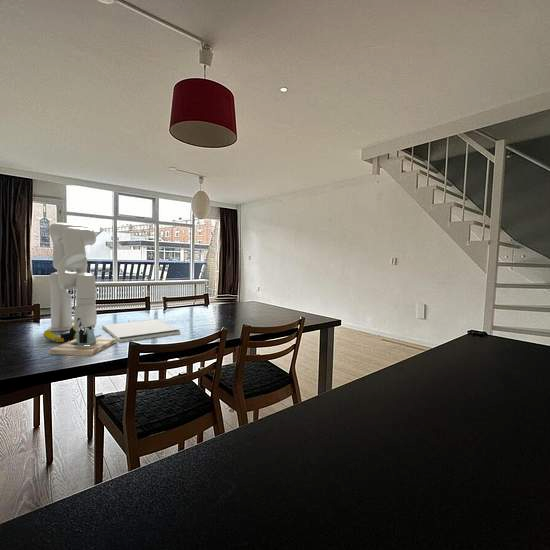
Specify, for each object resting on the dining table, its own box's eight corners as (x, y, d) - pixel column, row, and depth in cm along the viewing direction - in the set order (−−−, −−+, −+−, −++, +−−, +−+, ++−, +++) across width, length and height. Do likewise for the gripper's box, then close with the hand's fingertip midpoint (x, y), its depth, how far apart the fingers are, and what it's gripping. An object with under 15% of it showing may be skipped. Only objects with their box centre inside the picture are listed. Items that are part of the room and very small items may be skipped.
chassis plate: (80, 340, 155) (80, 336, 155) (116, 342, 154) (116, 338, 154) (50, 353, 135) (49, 349, 135) (91, 355, 134) (91, 351, 134)
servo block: (78, 346, 146) (73, 331, 146) (102, 339, 146) (98, 325, 146) (72, 348, 142) (67, 333, 142) (97, 342, 142) (92, 327, 142)
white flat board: (180, 330, 175) (119, 338, 155) (180, 334, 175) (119, 343, 155) (156, 319, 201) (102, 324, 181) (156, 322, 202) (102, 329, 181)
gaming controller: (42, 341, 153) (51, 345, 147) (42, 330, 152) (51, 333, 147) (75, 335, 165) (85, 338, 160) (75, 324, 165) (85, 327, 159)
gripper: (89, 298, 151) (89, 336, 152) (65, 303, 135) (65, 346, 136) (104, 299, 151) (104, 337, 152) (82, 304, 135) (83, 347, 136)
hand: (86, 341), depth 144 cm, fingers closed on servo block, 3 cm apart
